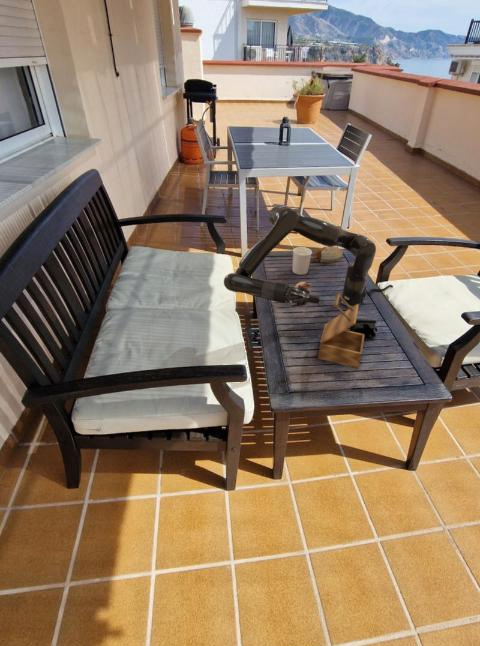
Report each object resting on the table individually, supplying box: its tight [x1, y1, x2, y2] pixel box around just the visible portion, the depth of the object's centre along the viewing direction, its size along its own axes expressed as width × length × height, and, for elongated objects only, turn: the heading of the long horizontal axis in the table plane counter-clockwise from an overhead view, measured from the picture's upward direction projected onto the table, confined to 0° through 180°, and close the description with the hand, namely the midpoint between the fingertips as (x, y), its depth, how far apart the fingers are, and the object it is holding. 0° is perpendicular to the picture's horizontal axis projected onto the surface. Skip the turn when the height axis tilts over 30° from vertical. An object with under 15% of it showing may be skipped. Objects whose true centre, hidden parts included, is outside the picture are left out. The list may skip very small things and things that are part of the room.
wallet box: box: [317, 329, 365, 369], centre depth 154 cm, size 16×13×7 cm
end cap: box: [349, 318, 378, 340], centre depth 165 cm, size 10×7×7 cm
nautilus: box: [310, 246, 344, 264], centre depth 219 cm, size 8×22×15 cm
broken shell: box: [294, 281, 313, 295], centre depth 187 cm, size 9×10×10 cm
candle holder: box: [291, 246, 313, 276], centre depth 206 cm, size 10×10×12 cm
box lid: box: [319, 292, 360, 344], centre depth 147 cm, size 16×13×10 cm
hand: (319, 300), depth 146 cm, fingers closed
